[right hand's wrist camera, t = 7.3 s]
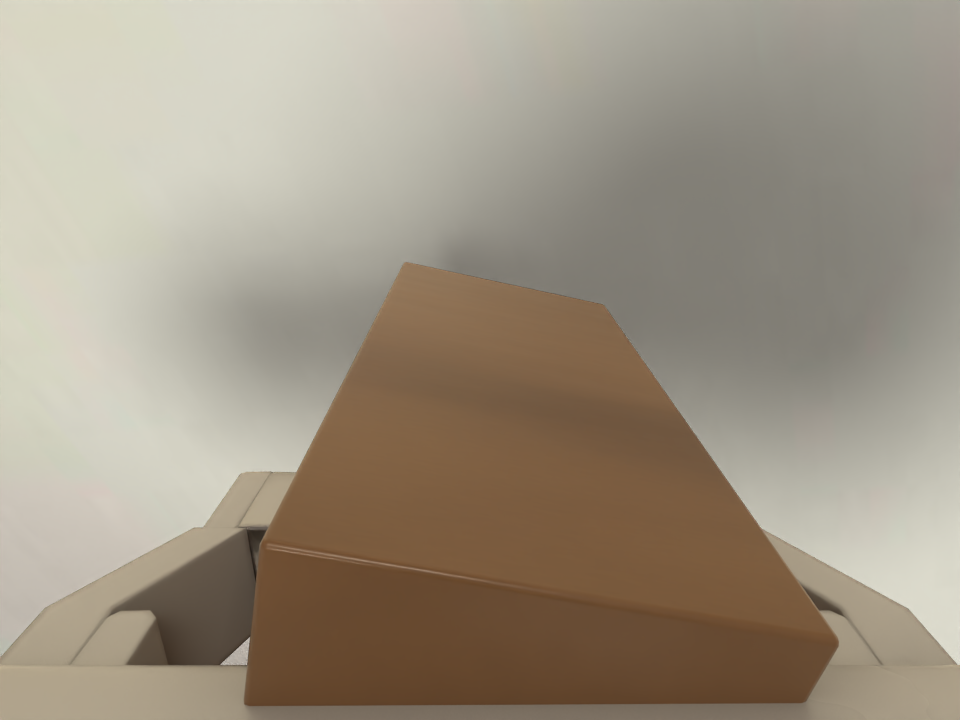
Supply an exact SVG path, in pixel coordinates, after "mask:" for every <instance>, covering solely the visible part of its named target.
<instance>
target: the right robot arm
mask: <svg viewBox="0 0 960 720" xmlns="http://www.w3.org/2000/svg"><path fill="white" fill-rule="evenodd" d="M295 474H296V472H274V473H273V472H245V473H241V474H240V475H239V476H238V478H237V479H236V481H235V482H234V484H233V485H232V487H231V488H230V490H229V491H228V492H227V494H226V495H225V497H224V498H223V500H222V501H221V503H220V504H219V505H218V507H217V508H216V510H215V511H214V513H213V514H212V516H211V517H210V518H209V520H208V521H207V523H206V524H205V526H204V527H203V528H193V529H191V530H189V531H187V532H185V533H183V534H181V535H180V536H178V537H176V538H174V539H172V540H170V541H169V542H167V543H165V544H163V545H161V546H159V547H157V548H156V549H154V550H152V551H150V552H148V553H146V554H144V555H143V556H141V557H139V558H137V559H135V560H133V561H131V562H130V563H128V564H126V565H124V566H122V567H120V568H118V569H117V570H115V571H113V572H111V573H109V574H107V575H105V576H104V577H102V578H100V579H98V580H96V581H94V582H92V583H91V584H89V585H87V586H85V587H83V588H81V589H79V590H78V591H76V592H74V593H72V594H70V595H68V596H66V597H65V598H63V599H61V600H59V601H57V602H55V603H53V604H52V605H50V606H48V607H46V608H45V609H44V610H43V611H42V612H41V613H40V614H39V615H38V616H37V618H36V619H35V620H34V621H33V622H32V623H31V624H30V625H29V626H28V627H27V629H26V630H25V631H24V632H23V633H22V634H21V635H20V636H19V637H18V639H17V640H16V641H15V642H14V643H13V644H12V645H11V646H10V647H9V649H8V650H7V651H6V652H5V653H4V654H3V655H2V656H1V657H0V720H960V665H957V664H956V662H955V661H954V660H953V659H952V658H951V657H950V656H949V654H948V653H947V652H946V651H945V650H944V649H943V648H942V647H941V645H940V644H939V643H938V642H937V641H936V640H935V639H934V637H933V636H932V635H931V634H930V633H929V632H928V631H927V629H926V628H925V627H924V626H923V625H922V624H921V623H920V622H919V620H918V619H917V618H916V617H915V616H914V615H913V614H912V612H911V611H910V610H909V609H908V608H906V607H904V606H902V605H900V604H898V603H897V602H895V601H893V600H891V599H889V598H887V597H886V596H884V595H882V594H880V593H878V592H876V591H875V590H873V589H871V588H869V587H867V586H865V585H864V584H862V583H860V582H858V581H856V580H854V579H853V578H851V577H849V576H847V575H845V574H844V573H842V572H840V571H838V570H836V569H834V568H833V567H831V566H829V565H827V564H825V563H823V562H822V561H820V560H818V559H816V558H814V557H812V556H811V555H809V554H807V553H805V552H803V551H801V550H800V549H798V548H796V547H794V546H792V545H790V544H789V543H787V542H785V541H783V540H781V539H779V538H778V537H776V536H774V535H772V534H770V533H768V532H767V531H765V530H763V529H762V530H763V532H764V533H765V535H766V536H767V537H768V539H769V540H770V542H771V543H772V545H773V546H774V547H775V549H776V550H777V552H778V553H779V554H780V556H781V557H782V559H783V560H784V562H785V563H786V564H787V566H788V567H789V569H790V570H791V572H792V573H793V574H794V576H795V577H796V579H797V580H798V581H799V583H800V584H801V586H802V587H803V589H804V590H805V591H806V593H807V594H808V596H809V597H810V599H811V600H812V601H813V603H814V604H815V606H816V607H817V608H818V610H819V611H820V613H821V614H822V616H823V617H824V618H825V620H826V621H827V623H828V624H829V625H830V627H831V628H832V630H833V631H834V633H835V634H836V635H837V637H838V640H839V647H838V648H837V650H836V652H835V654H834V655H833V657H832V659H831V660H830V662H829V664H828V665H827V667H826V669H825V670H824V672H823V674H822V675H821V677H820V679H819V680H818V682H817V684H816V686H815V687H814V689H813V691H812V692H811V694H810V696H809V697H808V699H807V701H806V702H803V703H753V704H565V705H377V706H247V705H245V704H244V692H245V682H246V673H247V665H220V664H221V663H222V662H223V661H224V660H225V659H226V658H227V657H229V656H230V655H231V654H232V653H233V652H234V651H235V650H236V649H237V648H238V647H239V646H240V645H241V644H242V643H244V642H245V641H246V640H247V639H248V638H249V637H250V634H251V624H252V615H253V605H254V595H255V586H256V576H257V566H258V557H259V547H260V543H261V541H262V539H263V537H264V535H265V533H266V531H267V529H268V527H269V525H270V523H271V521H272V519H273V517H274V515H275V513H276V511H277V509H278V507H279V505H280V503H281V502H282V500H283V498H284V496H285V494H286V492H287V490H288V488H289V486H290V484H291V482H292V480H293V478H294V476H295Z"/></svg>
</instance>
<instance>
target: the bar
mask: <svg viewBox="0 0 960 720" xmlns="http://www.w3.org/2000/svg"><path fill="white" fill-rule="evenodd" d="M838 647H839V640H838V637H837V635H836V634H835V633H834V631H833V630H832V628H831V627H830V625H829V624H828V623H827V621H826V620H825V618H824V617H823V616H822V614H821V613H820V611H819V610H818V608H817V607H816V606H815V604H814V603H813V601H812V600H811V599H810V597H809V596H808V594H807V593H806V591H805V590H804V589H803V587H802V586H801V584H800V583H799V581H798V580H797V579H796V577H795V576H794V574H793V573H792V572H791V570H790V569H789V567H788V566H787V564H786V563H785V562H784V560H783V559H782V557H781V556H780V554H779V553H778V552H777V550H776V549H775V547H774V546H773V545H772V543H771V542H770V540H769V539H768V537H767V536H766V535H765V533H764V532H763V530H762V529H761V527H760V526H759V525H758V523H757V522H756V520H755V519H754V518H753V516H752V515H751V513H750V512H749V510H748V509H747V508H746V506H745V505H744V503H743V502H742V500H741V499H740V498H739V496H738V495H737V493H736V492H735V491H734V489H733V488H732V486H731V485H730V483H729V482H728V481H727V479H726V478H725V476H724V475H723V473H722V472H721V471H720V469H719V468H718V466H717V465H716V464H715V462H714V461H713V459H712V458H711V456H710V455H709V454H708V452H707V451H706V449H705V448H704V446H703V445H702V444H701V442H700V441H699V439H698V438H697V437H696V435H695V434H694V432H693V431H692V429H691V428H690V427H689V425H688V424H687V422H686V421H685V419H684V418H683V417H682V415H681V414H680V412H679V411H678V410H677V408H676V407H675V405H674V404H673V402H672V401H671V400H670V398H669V397H668V395H667V394H666V392H665V391H664V390H663V388H662V387H661V385H660V384H659V383H658V381H657V380H656V378H655V377H654V375H653V374H652V373H651V371H650V370H649V368H648V367H647V365H646V364H645V363H644V361H643V360H642V358H641V357H640V356H639V354H638V353H637V351H636V350H635V348H634V347H633V346H632V344H631V343H630V341H629V340H628V338H627V337H626V336H625V334H624V333H623V331H622V330H621V329H620V327H619V326H618V324H617V323H616V321H615V320H614V319H613V317H612V316H611V314H610V313H609V311H608V310H607V309H606V307H605V306H604V305H603V304H598V303H594V302H589V301H584V300H580V299H575V298H570V297H566V296H561V295H557V294H552V293H547V292H543V291H538V290H533V289H529V288H524V287H519V286H515V285H510V284H505V283H501V282H496V281H492V280H487V279H482V278H478V277H473V276H468V275H464V274H459V273H454V272H450V271H445V270H441V269H436V268H431V267H427V266H422V265H417V264H413V263H408V262H405V263H404V264H403V265H402V267H401V269H400V271H399V273H398V275H397V277H396V279H395V281H394V283H393V285H392V287H391V289H390V291H389V293H388V295H387V297H386V299H385V301H384V302H383V304H382V306H381V308H380V310H379V312H378V314H377V316H376V318H375V320H374V322H373V324H372V326H371V328H370V330H369V332H368V334H367V336H366V338H365V340H364V342H363V343H362V345H361V347H360V349H359V351H358V353H357V355H356V357H355V359H354V361H353V363H352V365H351V367H350V369H349V371H348V373H347V375H346V377H345V379H344V381H343V382H342V384H341V386H340V388H339V390H338V392H337V394H336V396H335V398H334V400H333V402H332V404H331V406H330V408H329V410H328V412H327V414H326V416H325V418H324V420H323V422H322V423H321V425H320V427H319V429H318V431H317V433H316V435H315V437H314V439H313V441H312V443H311V445H310V447H309V449H308V451H307V453H306V455H305V457H304V459H303V461H302V463H301V464H300V466H299V468H298V470H297V472H296V474H295V476H294V478H293V480H292V482H291V484H290V486H289V488H288V490H287V492H286V494H285V496H284V498H283V500H282V502H281V503H280V505H279V507H278V509H277V511H276V513H275V515H274V517H273V519H272V521H271V523H270V525H269V527H268V529H267V531H266V533H265V535H264V537H263V539H262V541H261V543H260V547H259V557H258V566H257V576H256V586H255V595H254V605H253V615H252V624H251V634H250V644H249V653H248V663H247V673H246V682H245V692H244V704H245V705H247V706H377V705H565V704H753V703H803V702H806V701H807V699H808V697H809V696H810V694H811V692H812V691H813V689H814V687H815V686H816V684H817V682H818V680H819V679H820V677H821V675H822V674H823V672H824V670H825V669H826V667H827V665H828V664H829V662H830V660H831V659H832V657H833V655H834V654H835V652H836V650H837V648H838Z"/></svg>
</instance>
